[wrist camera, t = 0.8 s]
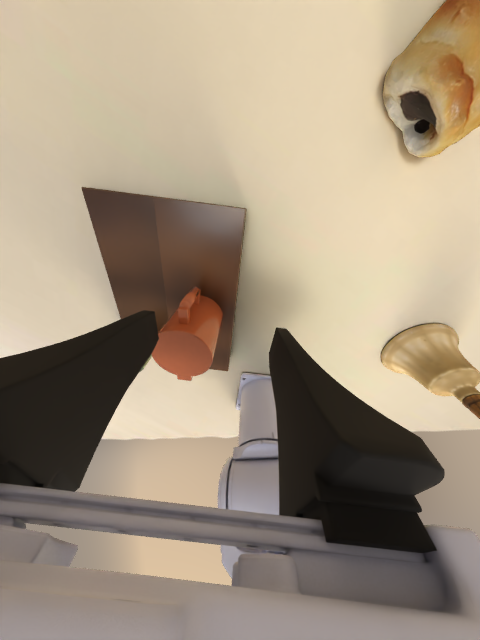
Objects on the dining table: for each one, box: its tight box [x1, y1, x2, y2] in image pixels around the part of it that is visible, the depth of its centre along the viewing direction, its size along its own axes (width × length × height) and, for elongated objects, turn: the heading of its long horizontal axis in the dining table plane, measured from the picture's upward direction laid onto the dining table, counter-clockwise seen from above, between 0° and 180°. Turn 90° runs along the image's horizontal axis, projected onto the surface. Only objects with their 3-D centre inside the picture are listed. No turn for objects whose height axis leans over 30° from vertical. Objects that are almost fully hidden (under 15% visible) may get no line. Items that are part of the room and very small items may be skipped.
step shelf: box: [82, 187, 246, 371], centre depth 19 cm, size 18×14×3 cm
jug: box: [152, 287, 223, 381], centre depth 16 cm, size 7×5×6 cm
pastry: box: [383, 0, 480, 158], centre depth 9 cm, size 9×7×4 cm
